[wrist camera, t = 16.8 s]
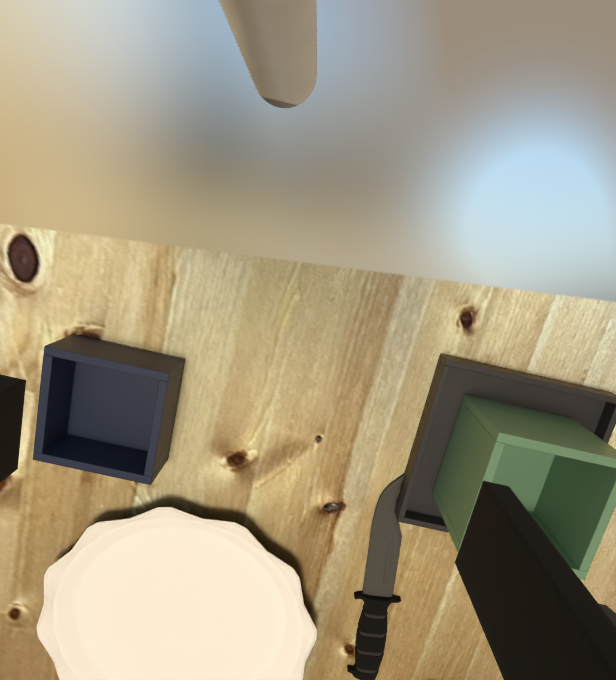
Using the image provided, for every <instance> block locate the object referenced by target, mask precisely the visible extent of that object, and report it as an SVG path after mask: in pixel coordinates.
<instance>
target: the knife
mask: <svg viewBox="0 0 616 680" xmlns="http://www.w3.org/2000/svg"><path fill="white" fill-rule="evenodd" d="M404 476H405V475H403V476H402V477H400V478H399V479H397V480H396V481H395V482H393V483H392V484H391V485H390V486H389V487H388V488H386V490H385V491H384V492H383V494H382V495H381V497H380V499H379V501H378V504H377V507H376V511H375V515H374V519H373V524H372V530H371V537H370V544H369V551H368V559H367V566H366V573H365V580H364V587H363V591H357V592H355V593H354V597H355V599H362V600H363V601H364V605H363V610H362V613H361V616H360V619H359V623H358V628H357V635H356V646H355V664H354V666H351V665H348V666H347V669H348V672H350V673H352V674H353V676H354V677H355V678H357V679H360V680H375V678H376V676H377V674H378V671H379V670H378V669H379V666H380V663H381V660H382V657H383V654H384V653H383V652H384V648H385V642H386V633H387V609H388V606H389V605H390V604H391V603H398V602H401V598H400V596H394V595H393V590H394V583H395V577H396V570H397V564H398V558H399V551H400V545H401V539H402V535H401V531H400V527H399V523H398V521H397V519H396V515H395V512H394V511H395V507H396V500H397V494H398V491H399V488H400V486H401V484H402V481H403V479H404Z"/></svg>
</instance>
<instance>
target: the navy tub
mask: <svg viewBox="0 0 616 680" xmlns="http://www.w3.org/2000/svg"><path fill="white" fill-rule="evenodd" d="M184 363H185V359H183V358H178V357H174V356H169V355H165V354H160V353H156V352H151V351H147V350H142V349H138V348H133V347H129V346H125V345H120V344H116V343H111V342H107V341H102V340H98V339H93V338H89V337H84V336H80V335H75V334H73V335H71V336H68V337H66V338H64V339H61V340H59V341H56V342H54V343H51V344H49V345H46V346H45V347H44V356H43V365H42V375H41V385H40V395H39V404H38V414H37V424H36V434H35V443H34V454H33V460H37V461H42V462H46V463H51V464H56V465H60V466H65V467H70V468H74V469H79V470H84V471H88V472H93V473H98V474H102V475H107V476H112V477H116V478H121V479H126V480H130V481H135V482H140V483H144V484H149V485H151V484H152V482H153V481H154V479H155V478H156V476H157V475H158V473H159V472H160V470H161V469H162V467H163V466H164V464H165V463H166V461H167V460H168V456H169V450H170V444H171V438H172V433H173V427H174V421H175V415H176V410H177V404H178V398H179V392H180V387H181V381H182V375H183V369H184Z"/></svg>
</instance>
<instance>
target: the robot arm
mask: <svg viewBox="0 0 616 680" xmlns="http://www.w3.org/2000/svg"><path fill="white" fill-rule="evenodd" d="M25 384H26V380H22V379H18V378H13V377H9V376H4V375H0V482H1V481H3V480H4V479H5V478H6V477H8V476H9V475H10V474H12V473H13V472H14V471H15V470H17V469H18V458H19V448H20V437H21V426H22V416H23V405H24V395H25ZM455 564H456V566H457V568H458V571H459V573H460V576H461V578H462V580H463V583H464V585H465V587H466V590H467V592H468V595H469V597H470V599H471V602H472V604H473V607H474V609H475V611H476V614H477V616H478V619H479V621H480V623H481V626H482V628H483V631H484V633H485V635H486V638H487V640H488V643H489V645H490V647H491V650H492V652H493V655H494V657H495V659H496V662H497V664H498V666H499V669H500V671H501V674H502V676H503V678H504V680H616V613H615V612H613V611H612V610H611V609H610V608H609V607H608V606H606V605H602V604H598V603H597V602H596V600H595V599H594V598H593V596H592V595H591V594H590V592H589V591H588V590H587V588H586V587H585V586H584V584H583V583H582V582H581V580H580V579H579V578H578V577H577V575H576V574H575V573H574V571H573V570H572V569H571V567H570V566H569V565H568V563H567V562H566V561H565V559H564V558H563V557H562V555H561V554H560V553H559V551H558V550H557V549H556V548H555V546H554V545H553V544H552V542H551V541H550V540H549V538H548V537H547V536H546V534H545V533H544V532H543V530H542V529H541V528H540V526H539V525H538V524H537V522H536V521H535V520H534V519H533V517H532V516H531V515H530V513H529V512H528V511H527V509H526V508H525V507H524V505H523V504H522V503H521V501H520V500H519V499H518V497H517V496H516V495H515V493H514V492H513V491H512V490H511V488H510V487H509V486H506V485H501V484H496V483H492V482H487V481H483V482H482V485H481V488H480V491H479V494H478V497H477V500H476V503H475V506H474V509H473V512H472V514H471V517H470V520H469V523H468V526H467V529H466V532H465V535H464V538H463V541H462V544H461V547H460V549H459V552H458V555H457V558H456V561H455Z"/></svg>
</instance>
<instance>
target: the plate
mask: <svg viewBox="0 0 616 680" xmlns="http://www.w3.org/2000/svg"><path fill="white" fill-rule="evenodd" d="M36 628H37V634H38V638H39V640H40V641H41V643H42V644H43V646H44V647H45V649H46V650H47V652H48V653H49V655H50V656H51V658H52V659H53V661H54V664H55V667H56V670H57V674H58V677H59V680H303V674H304V667H305V662H306V660H307V658H308V656H309V654H310V652H311V650H312V648H313V646H314V644H315V642H316V639H317V637H316V626H315V624H314V622H313V620H312V618H311V616H310V614H309V612H308V610H307V608H306V606H305V605H304V601H303V595H302V589H301V583H300V577H299V575H298V574H297V572H296V571H295V569H294V568H293V567H292V566H291V565H289V564H288V563H286V562H285V561H283V560H281V559H280V558H278V557H277V556H275V555H274V554H272V553H271V552H269V551H268V550H266V548H265V547H264V546H263V545H262V544H261V543H260V542H259V541H258V540H257V538H256V537H255V536H254V535H253V534H252V533H251V532H250V531H249V530H248V528H247V527H245V526H243V525H241V524H239V523H237V522H235V521H227V520H218V519H209V518H202V517H199V516H196V515H194V514H191V513H188V512H185V511H183V510H180V509H177V508H175V507H172V506H158V507H156V508H153V509H151V510H148V511H146V512H143V513H141V514H138V515H136V516H133V517H130V518H123V519H114V520H106V521H98V522H96V523H95V524H93V525H91V526H89V527H88V528H87V529H86V531H85V532H84V533H83V535H82V536H81V538H80V539H79V540H78V542H77V543H76V545H75V546H74V547H73V549H72V550H71V551H70V552H68V553H67V554H65V555H64V556H63V557H61V558H60V559H59V560H57V561H56V562H55V563H53V564H52V565H51V566H50V567H49V568H48V570H47V572H46V574H45V576H44V606H43V609H42V612H41V615H40V618H39V621H38V624H37V627H36Z"/></svg>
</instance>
